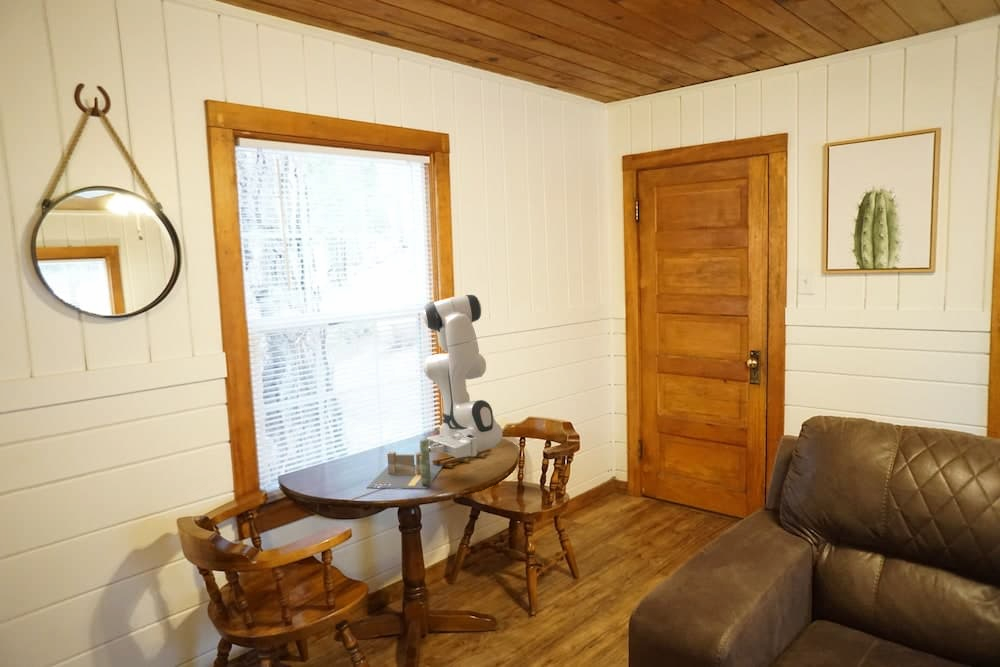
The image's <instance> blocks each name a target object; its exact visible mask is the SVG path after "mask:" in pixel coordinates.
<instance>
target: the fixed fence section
mask: <svg viewBox="0 0 1000 667" xmlns="http://www.w3.org/2000/svg"><path fill="white" fill-rule="evenodd" d="M386 454H387V467H388V474H395V473H415V465H416V463H415V454H414V453H413V454H408V453H406V454H403V453H402V454H397V452H396V451H389V452H388V453H386Z"/></svg>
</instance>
